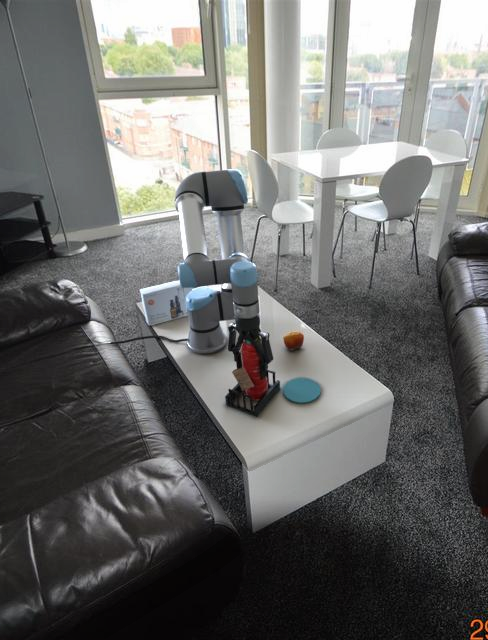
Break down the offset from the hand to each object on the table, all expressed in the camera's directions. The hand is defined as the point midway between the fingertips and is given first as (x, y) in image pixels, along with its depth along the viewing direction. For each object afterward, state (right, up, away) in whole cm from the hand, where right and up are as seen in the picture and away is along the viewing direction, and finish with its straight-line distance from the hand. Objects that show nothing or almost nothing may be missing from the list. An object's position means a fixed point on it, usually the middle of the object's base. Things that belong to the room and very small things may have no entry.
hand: (251, 373), depth 144 cm
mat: (+17, -7, +8) cm, 20 cm away
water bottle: (0, -9, +6) cm, 10 cm away
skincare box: (-40, +21, +51) cm, 68 cm away
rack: (0, -9, +6) cm, 10 cm away
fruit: (+14, +8, +31) cm, 35 cm away
